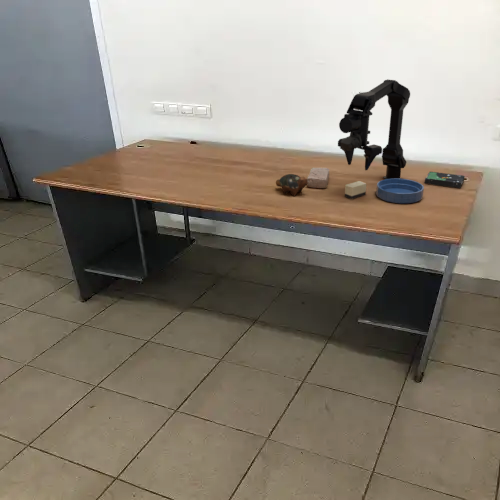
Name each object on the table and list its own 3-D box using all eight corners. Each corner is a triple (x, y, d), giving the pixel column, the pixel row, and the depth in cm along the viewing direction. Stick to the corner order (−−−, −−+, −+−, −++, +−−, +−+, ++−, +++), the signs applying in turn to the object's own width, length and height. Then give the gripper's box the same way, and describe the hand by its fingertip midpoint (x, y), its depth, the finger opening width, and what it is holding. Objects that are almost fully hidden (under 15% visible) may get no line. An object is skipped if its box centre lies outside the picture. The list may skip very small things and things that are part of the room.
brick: (310, 176, 230) (311, 166, 228) (329, 176, 229) (329, 166, 227) (306, 188, 216) (307, 178, 214) (326, 189, 214) (326, 179, 212)
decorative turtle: (303, 199, 205) (301, 180, 201) (271, 195, 213) (269, 177, 209) (313, 190, 212) (312, 172, 208) (282, 187, 220) (280, 169, 216)
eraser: (351, 199, 204) (352, 187, 201) (344, 196, 207) (345, 184, 204) (365, 194, 208) (366, 183, 205) (358, 192, 211) (359, 180, 208)
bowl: (367, 191, 211) (368, 181, 209) (405, 186, 216) (406, 176, 214) (391, 207, 195) (393, 196, 193) (431, 200, 200) (433, 190, 198)
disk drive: (463, 181, 220) (428, 176, 226) (464, 175, 219) (429, 170, 225) (460, 189, 212) (424, 183, 218) (461, 182, 210) (425, 177, 217)
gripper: (328, 127, 198) (326, 165, 205) (364, 136, 184) (360, 177, 191) (349, 123, 203) (346, 160, 210) (384, 131, 189) (380, 171, 197)
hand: (357, 167), depth 202 cm, fingers open, 9 cm apart
